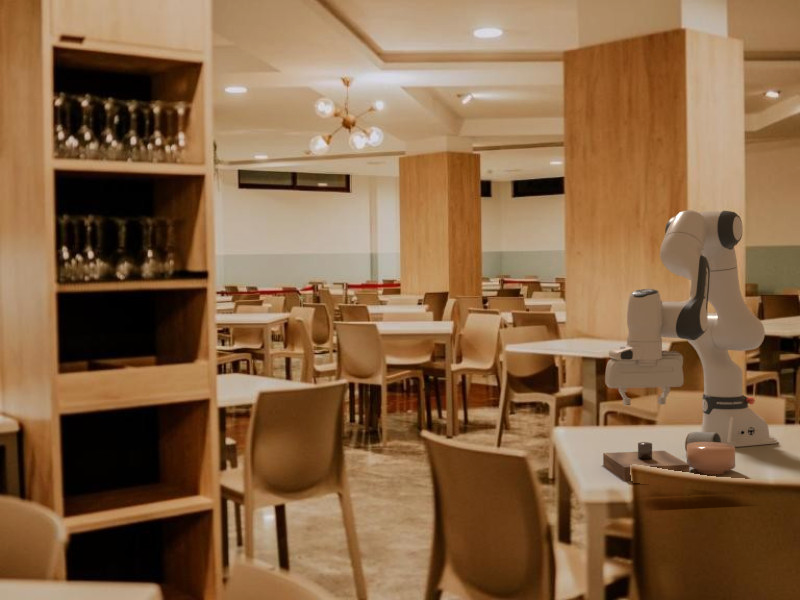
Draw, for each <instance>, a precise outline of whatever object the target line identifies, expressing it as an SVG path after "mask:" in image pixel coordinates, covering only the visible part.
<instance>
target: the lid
mask: <svg viewBox="0 0 800 600" xmlns="http://www.w3.org/2000/svg"><path fill="white" fill-rule="evenodd" d="M602 457H603V461H602V463H603V464H602V465H603V466H604V467H606V468H607V469H608V470H610V471H611V472H613V473H614V474H615V475H617V476H618V477H620V478H621V479H622V480H624V481H631V475H630V465H632V464H637V465H644V466H650V467H657V468H662V469H668V470H674V471H682V472H690V468H691V467H690V465H689V464H687V461H684V460H682V459H680V458H678V457H677V456H675V455H673V454H671V453H669V452H668V451H665V450H653V443H652V442H647V441H641V442H637V451H625V452H624V451H619V452H603V454H602ZM608 470H607V471H608ZM615 475H614V476H615ZM622 480H621V481H622ZM631 482H632V481H631Z"/></svg>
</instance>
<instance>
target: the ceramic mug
mask: <svg viewBox="0 0 800 600" xmlns="http://www.w3.org/2000/svg"><path fill="white" fill-rule="evenodd" d="M694 442H718V443H721V438H720V435H719V434H718V433H716V432H701V431H693V432H689V433H688V434H687V435H686V438H685V442H684V449H685V457H686V458H687V444H689V443H694Z"/></svg>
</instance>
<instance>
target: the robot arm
mask: <svg viewBox="0 0 800 600" xmlns="http://www.w3.org/2000/svg"><path fill="white" fill-rule="evenodd" d="M743 230H744V229H743V222H742V219H741V217H740V216H739V214H738V213H736V212H735V211H730V210H722V211H714V210H713V211H712V210H710V211H701V212H698V211H695V210H691V209H690V210H689V209H688V210H682V211H680V212H679V213H676V215H675V216H673V217H671V218H670V219H669V220H668V221H667V223H666V224H665V230H664V234H665V235H664V236H663V240H662V242H661V246H660V249H659V250H660V251H659V258H660V261H661V263H662V265H663V266H664V267H665V268H666V269H667V271H669V272H671V273H672V274H674V275H676V276H679V277H683V278H686V279H688V280H690V281H691V282H690V289H689V298H688V299H686V300H683V301H665V300H661V294H660V291H659V290H656V289H653V288H644V289H643V288H642V289H636V290H634V291H632V292H631V293H630V294H629V298H628V303H627V310H626V312H627V313H626V317H627V318H626V324H627V325H626V326H627V328H628V332H627V333H628V335H627V339H626V344H624V345H621V346H618V347H615V348H613V349H610V350H609V351H608V357H609V358H610V359H608V361H607V363H606V367H605V373H604V374H605V375H604V383H605V386H607V387H608V388H610V389H618V392H619V394H620V395H621V398H622V404H623V406H631V404H632V403H631V398H630V397H628V396H627V394H626V393H627V390H628V389H632V388H633V389H636V388H639V389H640V388H642V389H643V388H645V389H646V388H661V390H662V391H663V392H662V393H661V395H660V396H657V404H659V405H666V403H667V397H668V396H669V394H670V392H671V388H674V387H675V388H679V387H682V386H683V385H684V383H685V382H684V381H685V379H684V370H683V365H684V357H683V354H681V353H680V352H678V351H676V350H675V351H668V350H667V351H663V338H669V339H670V338H672V339H674V338H675V339H682V340H686V341H687V342H688V343H689V344H690V345H691V346H692V347H693V349H694V350H695V351H696V354H697V355H698V357H699V359H700V362H701V365H702V366H701V367H702V371H703V390H704V391H703V394H702V413H703V414H702V424H701V430H700V432H716V433H718V434H719V435H720V438H721V443H725V444H730V445H733V446H734V447H735V448H740V447H749V446H759V445H774V444H777V443H778V439H777V437H775V436H774V435H771V434H770V430H769V425H768V423H767V421H766V420H765V419H764V418H763V417H762V416H760V415H759V414H758V413H756V412H755V411H754V410H752V409H751V408H750V407H749V404H750V405H754V404H755V403H756V402H755V401H756V400H755V398H754V397H751V396H748V397H747V396H746V395H744V393H743V388H744V387H743V385H744V384H743V382H744V381H743V380H744V379H743V375H744V374H743V370H742V367H740V365H739V364H737V363H736V362H735V361H733V359H732V358H731V356H730V352H729V351H734V352H735V351H737V352H744V351H745V352H746V351H750V350H755V349H758V348H759V347H760V346H761V345H762V343H763V342H764V339H765V335H766V334H765V333H766V331H765V327H764V326H765V325H764V324H763V322H762V321H761V319H759V318H758V317H757V316H755V315H754V313H752V312H751V310H750V309H749V307H748V306H747V304H746V302H745V300H744V298H743V295H742V292H741V289H740V287H741V286H740V282H739V270H738V260H737V255H736V254H737V253H736V250H735V246H737V245H738V244H739V242H740V241H741V239H742V237H743V233H744V232H743ZM708 303H710V304H711V306H712V307H713V309H714V310H715V312H708Z"/></svg>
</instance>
